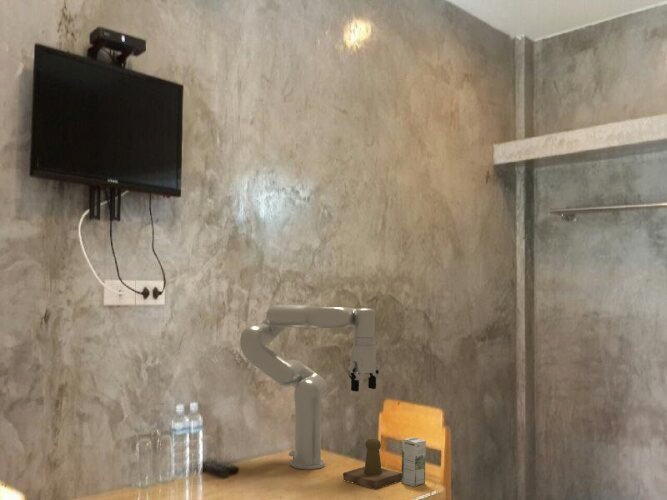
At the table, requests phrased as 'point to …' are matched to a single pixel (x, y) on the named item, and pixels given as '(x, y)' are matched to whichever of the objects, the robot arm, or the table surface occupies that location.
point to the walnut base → (372, 478)
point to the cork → (373, 457)
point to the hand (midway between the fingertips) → (363, 389)
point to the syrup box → (413, 461)
